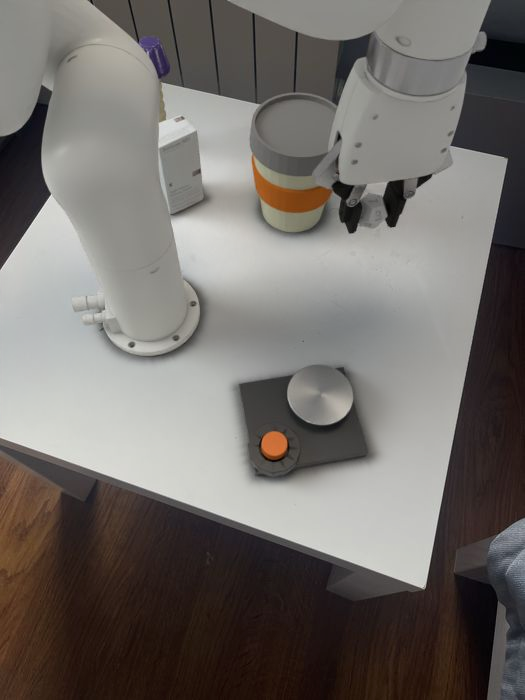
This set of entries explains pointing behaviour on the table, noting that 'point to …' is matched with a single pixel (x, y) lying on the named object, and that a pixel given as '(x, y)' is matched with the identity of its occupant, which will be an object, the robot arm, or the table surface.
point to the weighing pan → (320, 395)
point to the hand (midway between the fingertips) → (368, 219)
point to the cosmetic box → (179, 164)
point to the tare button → (274, 445)
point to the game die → (372, 211)
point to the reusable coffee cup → (291, 158)
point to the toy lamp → (157, 65)
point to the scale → (294, 430)
